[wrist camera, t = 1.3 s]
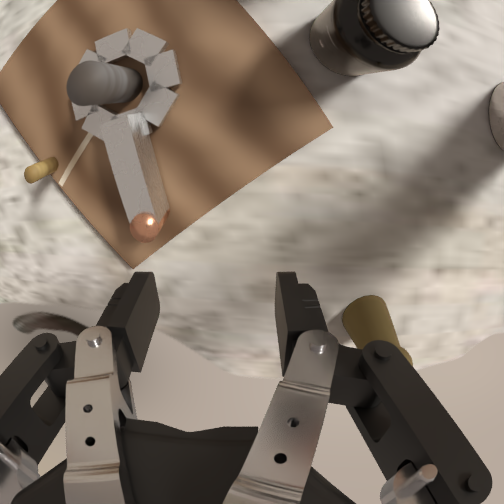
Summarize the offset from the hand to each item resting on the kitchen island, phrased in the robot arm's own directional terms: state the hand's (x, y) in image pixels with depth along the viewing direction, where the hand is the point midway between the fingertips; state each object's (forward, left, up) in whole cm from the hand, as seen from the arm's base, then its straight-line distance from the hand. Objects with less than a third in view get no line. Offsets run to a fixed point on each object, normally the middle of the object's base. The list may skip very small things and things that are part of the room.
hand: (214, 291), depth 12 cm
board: (+2, -13, -17) cm, 22 cm away
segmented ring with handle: (+3, -9, -16) cm, 19 cm away
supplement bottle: (-16, -5, -18) cm, 25 cm away
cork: (-3, +23, -18) cm, 29 cm away
